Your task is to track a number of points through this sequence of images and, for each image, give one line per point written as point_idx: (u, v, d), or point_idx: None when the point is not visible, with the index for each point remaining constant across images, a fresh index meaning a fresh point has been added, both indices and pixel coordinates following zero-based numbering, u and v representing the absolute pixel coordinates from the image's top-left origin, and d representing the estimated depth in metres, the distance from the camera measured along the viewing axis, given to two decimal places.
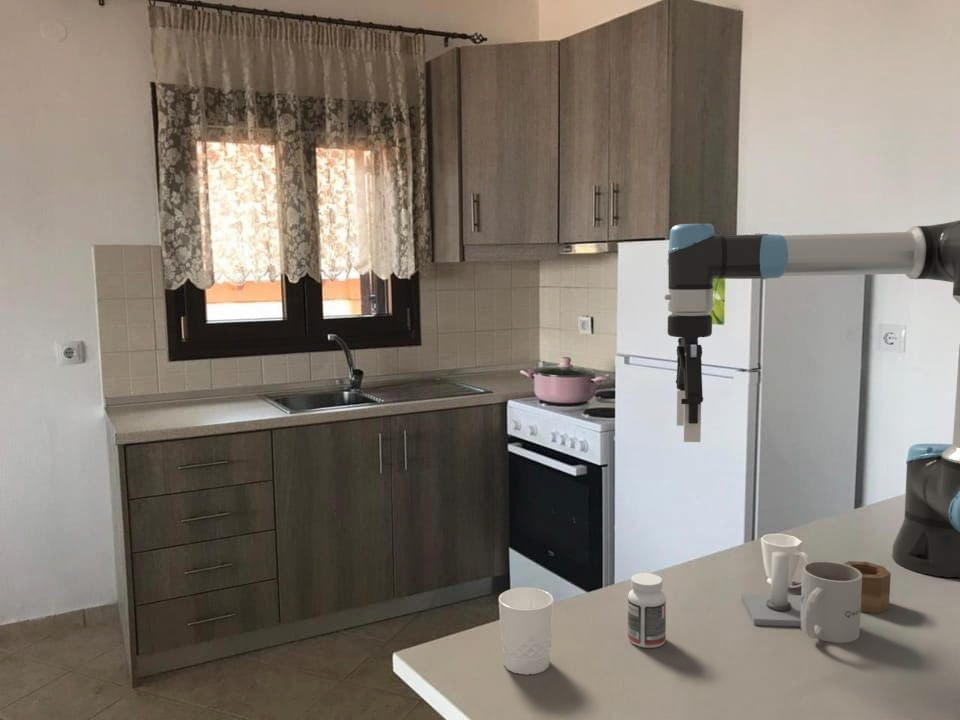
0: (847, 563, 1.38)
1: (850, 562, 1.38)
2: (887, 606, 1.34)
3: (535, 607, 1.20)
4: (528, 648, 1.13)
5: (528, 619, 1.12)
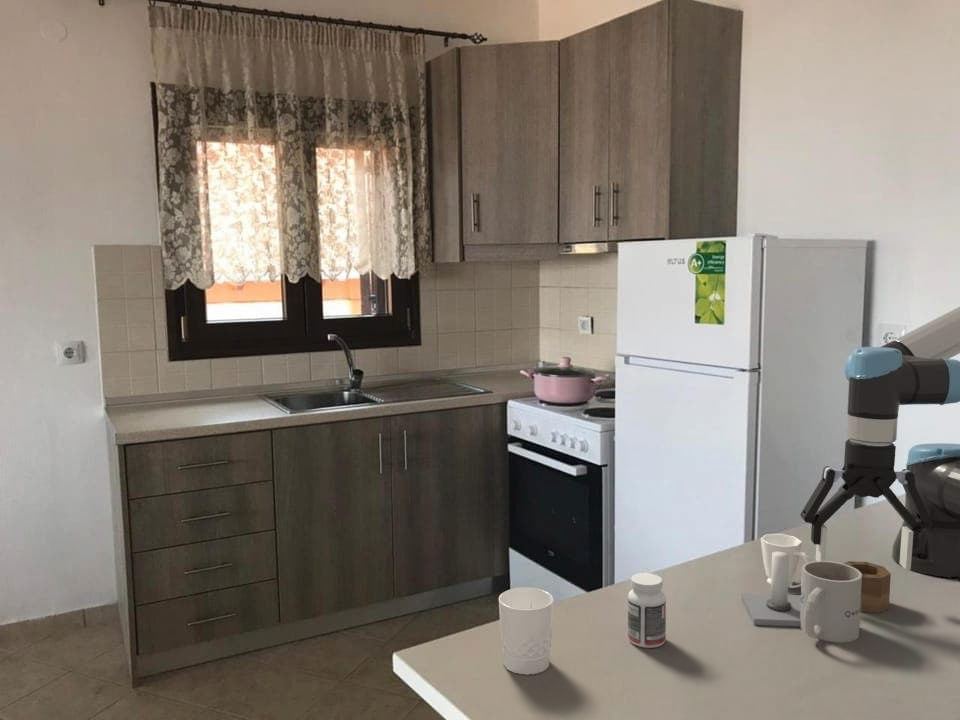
0: (847, 563, 1.38)
1: (850, 562, 1.38)
2: (887, 606, 1.34)
3: (535, 607, 1.20)
4: (528, 648, 1.13)
5: (528, 619, 1.12)
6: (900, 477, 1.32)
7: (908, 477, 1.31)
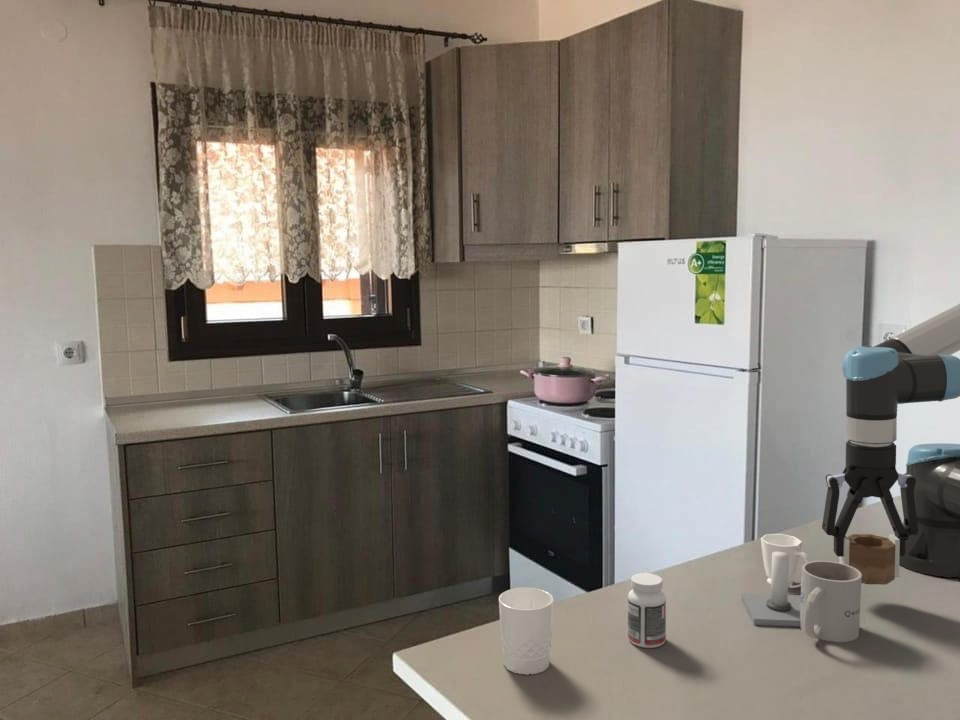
0: (851, 536, 1.38)
1: (854, 535, 1.38)
2: (893, 578, 1.33)
3: (535, 607, 1.20)
4: (528, 648, 1.13)
5: (528, 619, 1.12)
6: (901, 479, 1.33)
7: (909, 481, 1.32)
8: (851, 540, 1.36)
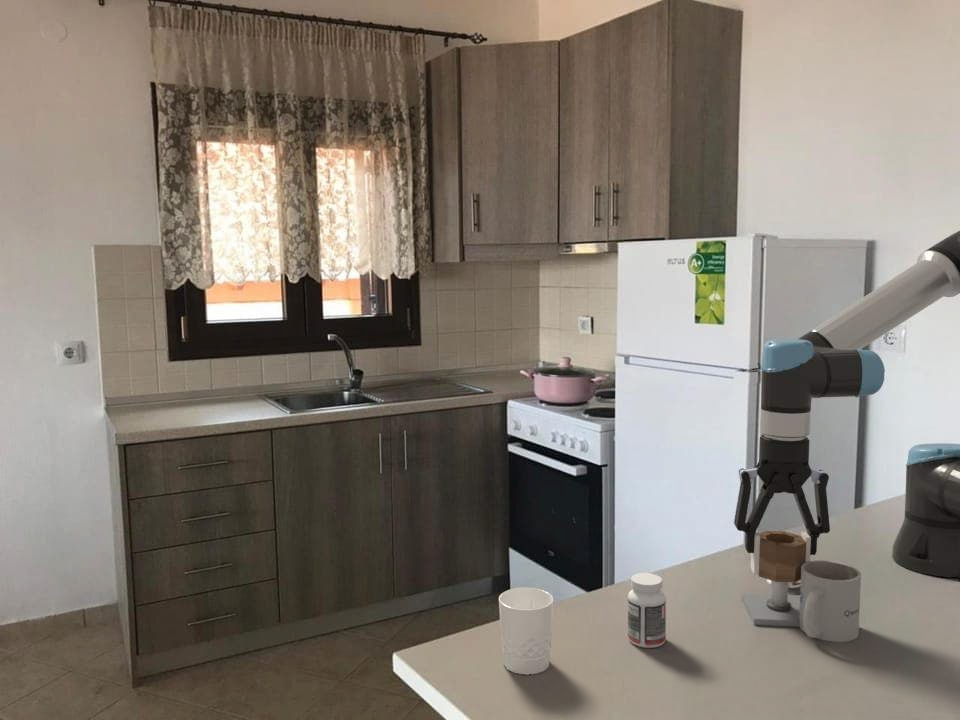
0: (764, 533, 1.34)
1: (768, 532, 1.35)
2: None
3: (535, 607, 1.20)
4: (528, 648, 1.13)
5: (528, 619, 1.12)
6: (814, 475, 1.29)
7: (822, 477, 1.28)
8: (763, 536, 1.32)
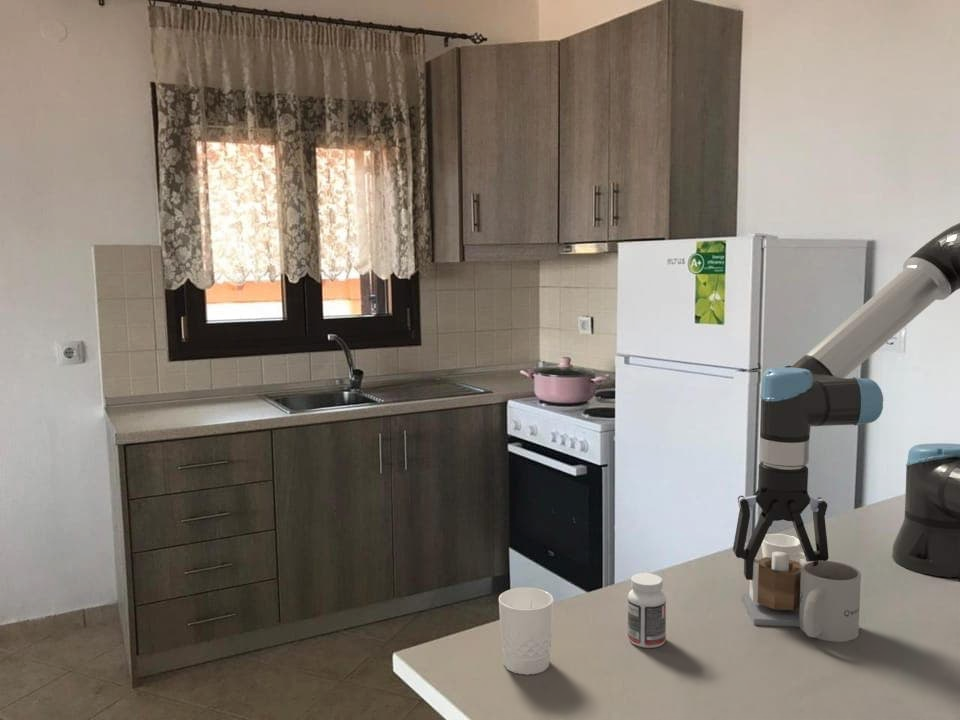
0: (763, 559, 1.35)
1: (766, 558, 1.35)
2: None
3: (535, 607, 1.19)
4: (528, 648, 1.13)
5: (528, 619, 1.12)
6: (813, 503, 1.30)
7: (821, 506, 1.29)
8: (762, 563, 1.33)
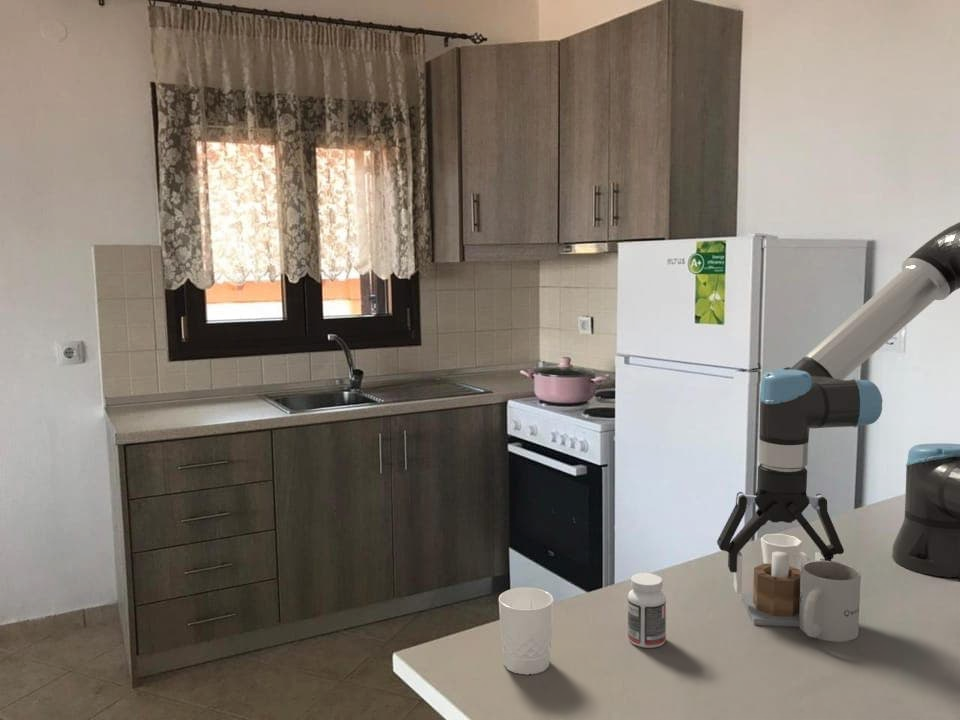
0: (762, 565, 1.35)
1: (766, 564, 1.35)
2: None
3: (535, 607, 1.20)
4: (528, 648, 1.13)
5: (528, 619, 1.12)
6: (812, 502, 1.30)
7: (820, 503, 1.29)
8: (761, 570, 1.33)
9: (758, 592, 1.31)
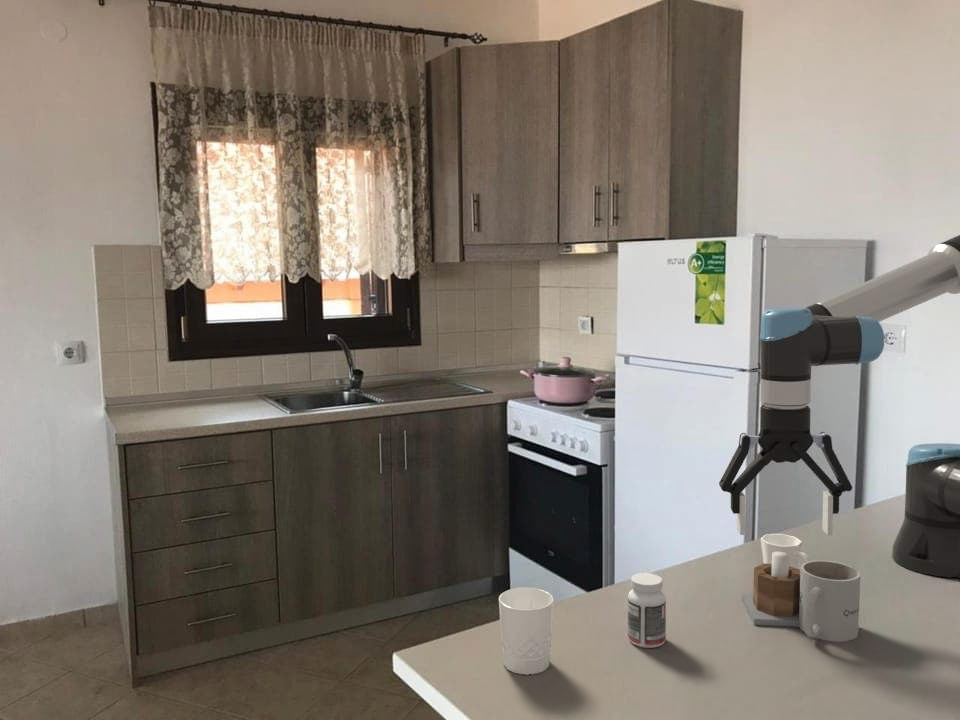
0: (762, 565, 1.35)
1: (766, 564, 1.35)
2: None
3: (535, 607, 1.20)
4: (528, 648, 1.13)
5: (528, 619, 1.12)
6: (817, 440, 1.28)
7: (825, 440, 1.28)
8: (761, 570, 1.33)
9: (758, 592, 1.31)
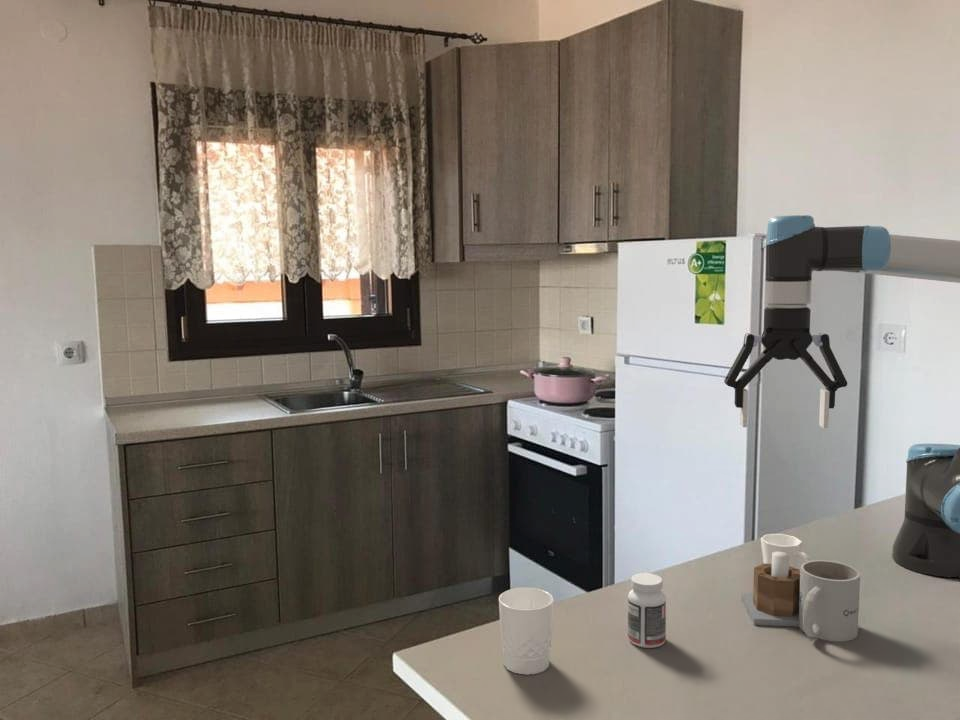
0: (762, 565, 1.35)
1: (766, 564, 1.35)
2: None
3: (535, 607, 1.20)
4: (528, 648, 1.13)
5: (528, 619, 1.12)
6: (815, 339, 1.39)
7: (823, 338, 1.38)
8: (761, 570, 1.33)
9: (758, 592, 1.31)
